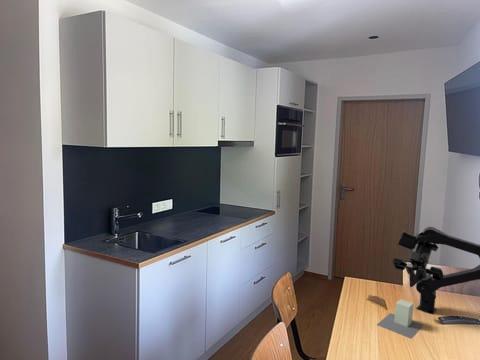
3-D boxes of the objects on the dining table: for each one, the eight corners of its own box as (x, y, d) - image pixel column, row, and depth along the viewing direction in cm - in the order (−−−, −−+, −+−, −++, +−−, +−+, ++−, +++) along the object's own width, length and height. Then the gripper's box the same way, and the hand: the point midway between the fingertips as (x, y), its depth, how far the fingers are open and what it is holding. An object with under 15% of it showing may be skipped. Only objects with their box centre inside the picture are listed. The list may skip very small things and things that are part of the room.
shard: (386, 311, 149) (386, 307, 149) (367, 308, 151) (367, 304, 150) (382, 300, 159) (382, 296, 159) (365, 298, 161) (365, 294, 161)
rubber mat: (390, 313, 146) (390, 312, 146) (423, 325, 137) (423, 325, 137) (376, 325, 136) (376, 324, 136) (411, 339, 127) (411, 338, 127)
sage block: (398, 317, 142) (400, 299, 141) (411, 322, 139) (413, 303, 138) (394, 322, 138) (395, 302, 138) (407, 327, 135) (409, 307, 134)
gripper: (395, 239, 149) (383, 269, 143) (444, 249, 136) (433, 284, 130) (401, 252, 156) (389, 283, 149) (447, 264, 143) (437, 297, 136)
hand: (410, 286), depth 141 cm, fingers closed
